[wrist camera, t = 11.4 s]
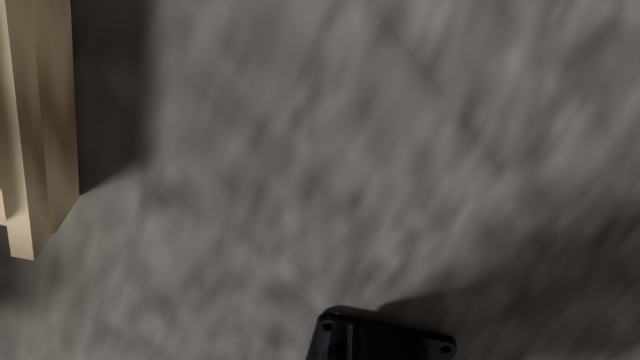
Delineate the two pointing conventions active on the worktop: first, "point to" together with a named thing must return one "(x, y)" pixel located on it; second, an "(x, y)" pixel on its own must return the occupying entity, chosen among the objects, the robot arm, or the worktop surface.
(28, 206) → the trough rack
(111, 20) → the worktop surface
